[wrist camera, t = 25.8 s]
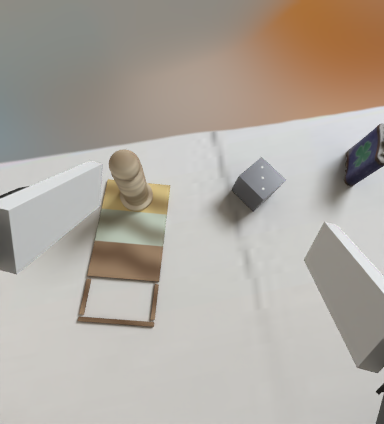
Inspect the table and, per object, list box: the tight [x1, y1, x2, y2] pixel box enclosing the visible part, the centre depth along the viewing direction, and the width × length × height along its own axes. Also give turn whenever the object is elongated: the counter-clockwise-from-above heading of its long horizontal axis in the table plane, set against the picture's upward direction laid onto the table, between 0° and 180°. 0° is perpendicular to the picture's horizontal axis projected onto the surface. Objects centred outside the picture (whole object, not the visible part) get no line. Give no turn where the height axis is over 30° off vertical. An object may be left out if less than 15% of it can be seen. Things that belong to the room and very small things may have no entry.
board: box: [78, 180, 170, 327], centre depth 42 cm, size 25×12×1 cm, turn 176°
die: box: [232, 157, 286, 211], centre depth 45 cm, size 6×6×6 cm
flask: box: [344, 124, 384, 186], centre depth 46 cm, size 9×3×11 cm, turn 162°
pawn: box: [109, 150, 153, 211], centre depth 39 cm, size 6×6×14 cm
